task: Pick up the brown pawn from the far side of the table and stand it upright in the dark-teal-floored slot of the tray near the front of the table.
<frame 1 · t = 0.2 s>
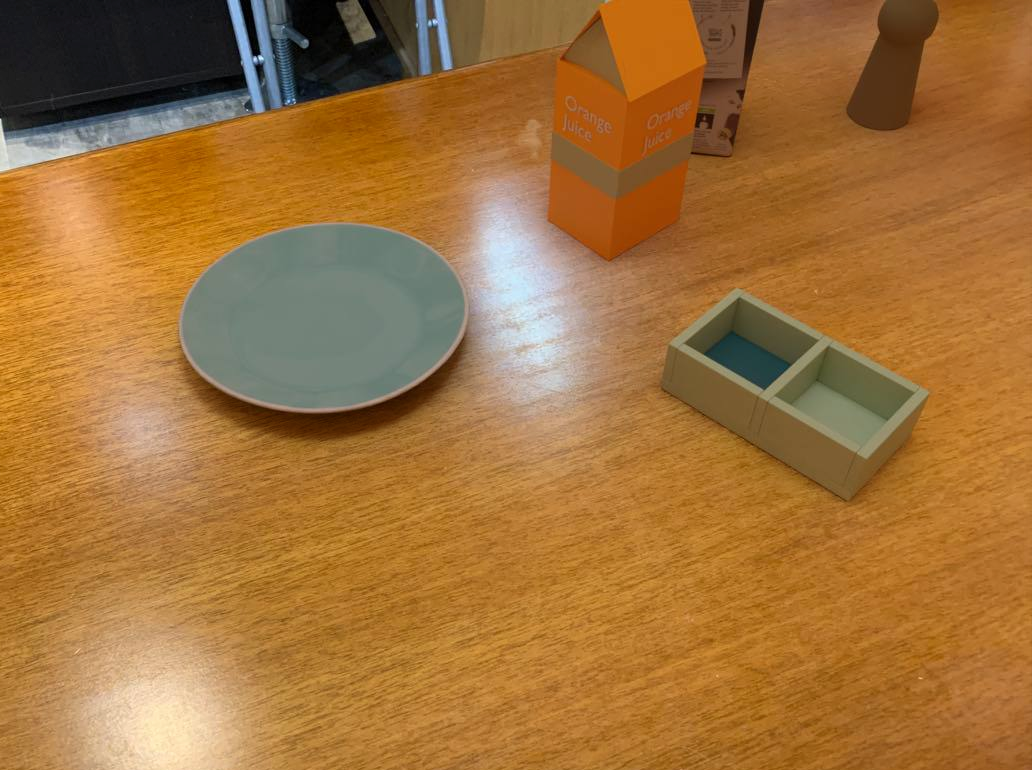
coffee box: (700, 129, 104), on the table
tray: (783, 411, 80), on the table
brown pawn: (877, 114, 105), on the table
plate: (328, 336, 85), on the table
orange juice: (613, 221, 95), on the table
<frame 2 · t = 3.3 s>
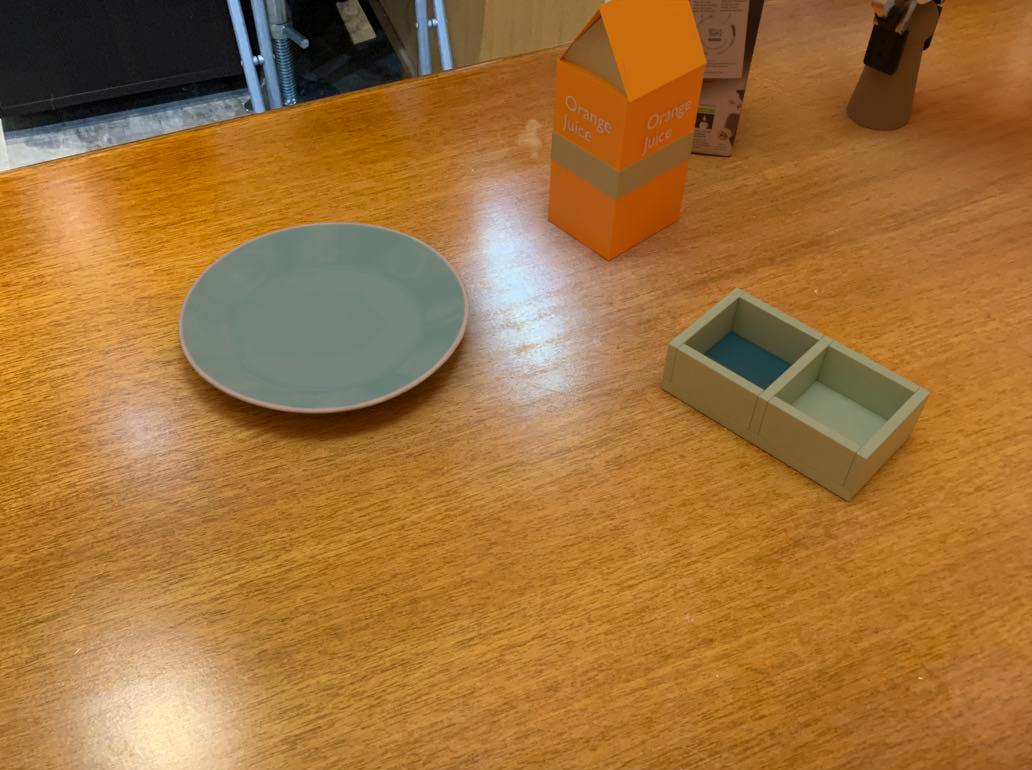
hand: (896, 54, 101), 6 cm above the table, tool pointing down, fingers closed on brown pawn, 5 cm apart
brown pawn: (877, 114, 105), on the table, touching gripper
everything else where it was.
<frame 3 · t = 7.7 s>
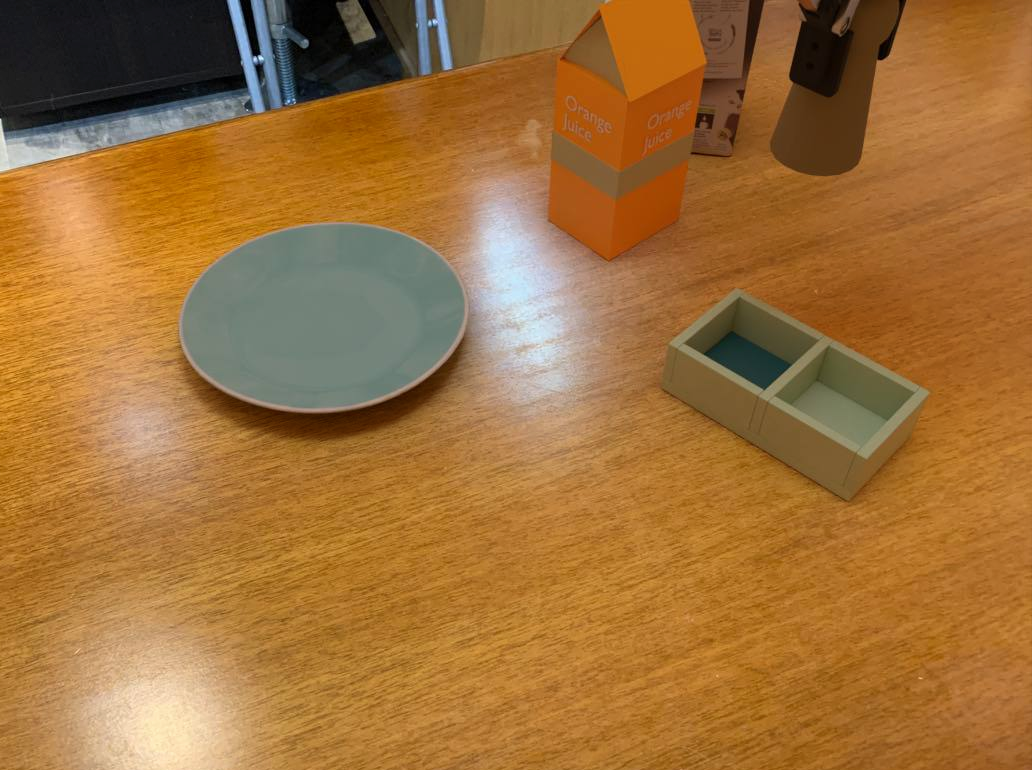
hand: (839, 66, 68), 22 cm above the table, tool pointing down, fingers closed on brown pawn, 5 cm apart
brown pawn: (814, 152, 72), point 16 cm above the table, touching gripper
everything else where it was.
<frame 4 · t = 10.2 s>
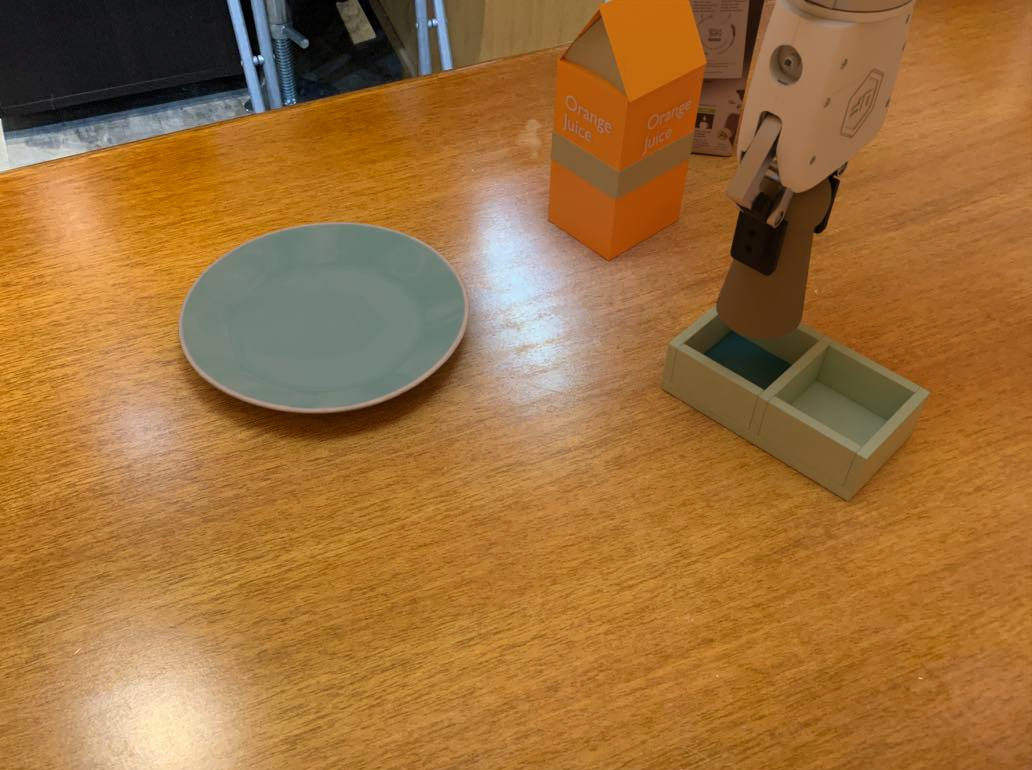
hand: (778, 241, 72), 13 cm above the table, tool pointing down, fingers closed on brown pawn, 5 cm apart
brown pawn: (758, 311, 76), point 7 cm above the table, touching gripper
everything else where it was.
when the fingers open (7 cm above the table, at t = 12.2 s): brown pawn stays where it is, resting on tray.
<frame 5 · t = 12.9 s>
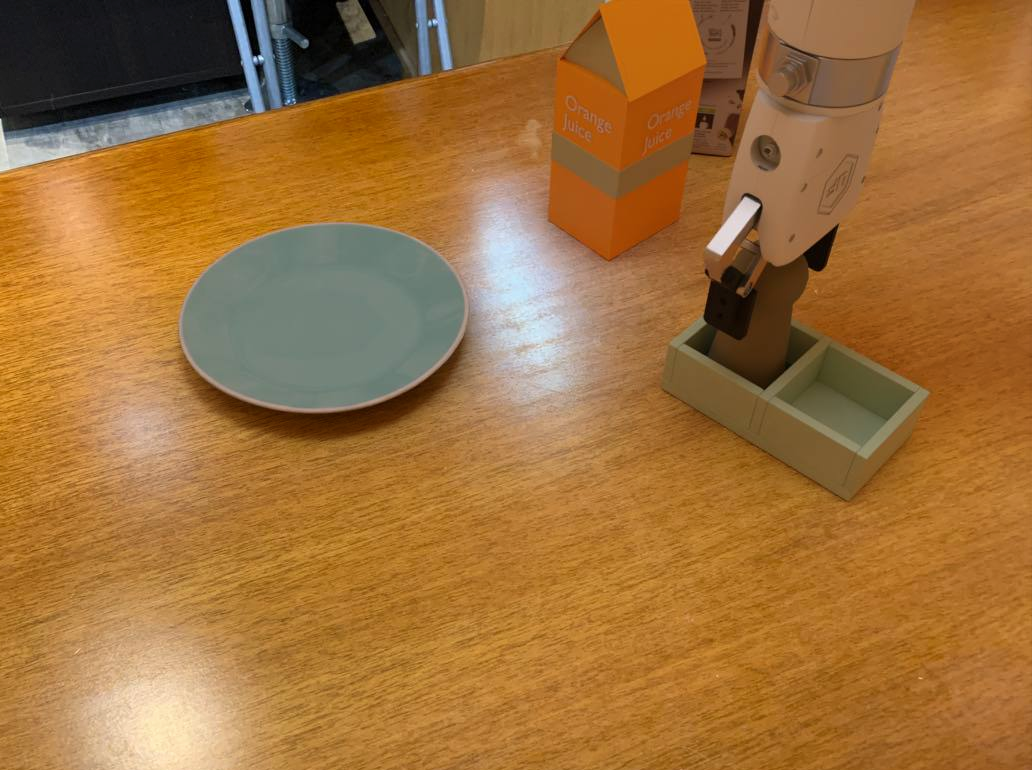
hand: (765, 294, 75), 9 cm above the table, tool pointing down, fingers open, 9 cm apart
brown pawn: (742, 375, 81), point 1 cm above the table, touching tray
everything else where it was.
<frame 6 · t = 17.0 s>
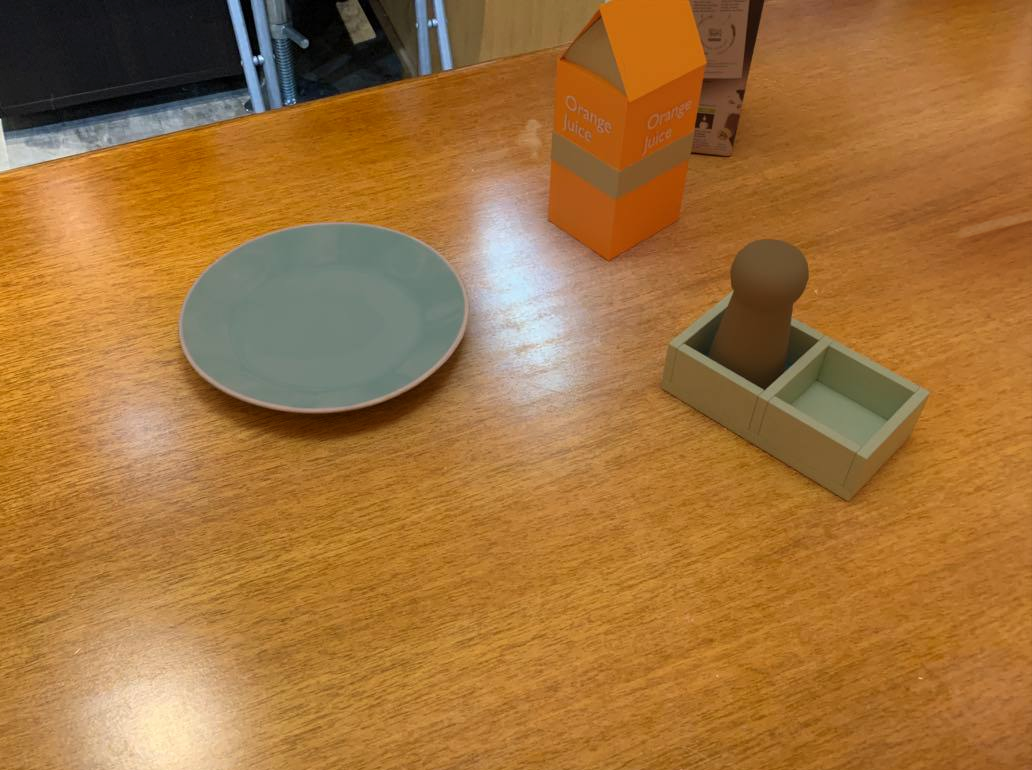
nothing on the table moved.
at the end: brown pawn 0.1 cm from the target spot in the tray, point 1.0 cm above the tray's base; brown pawn tilted 0°; the gripper is holding nothing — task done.
